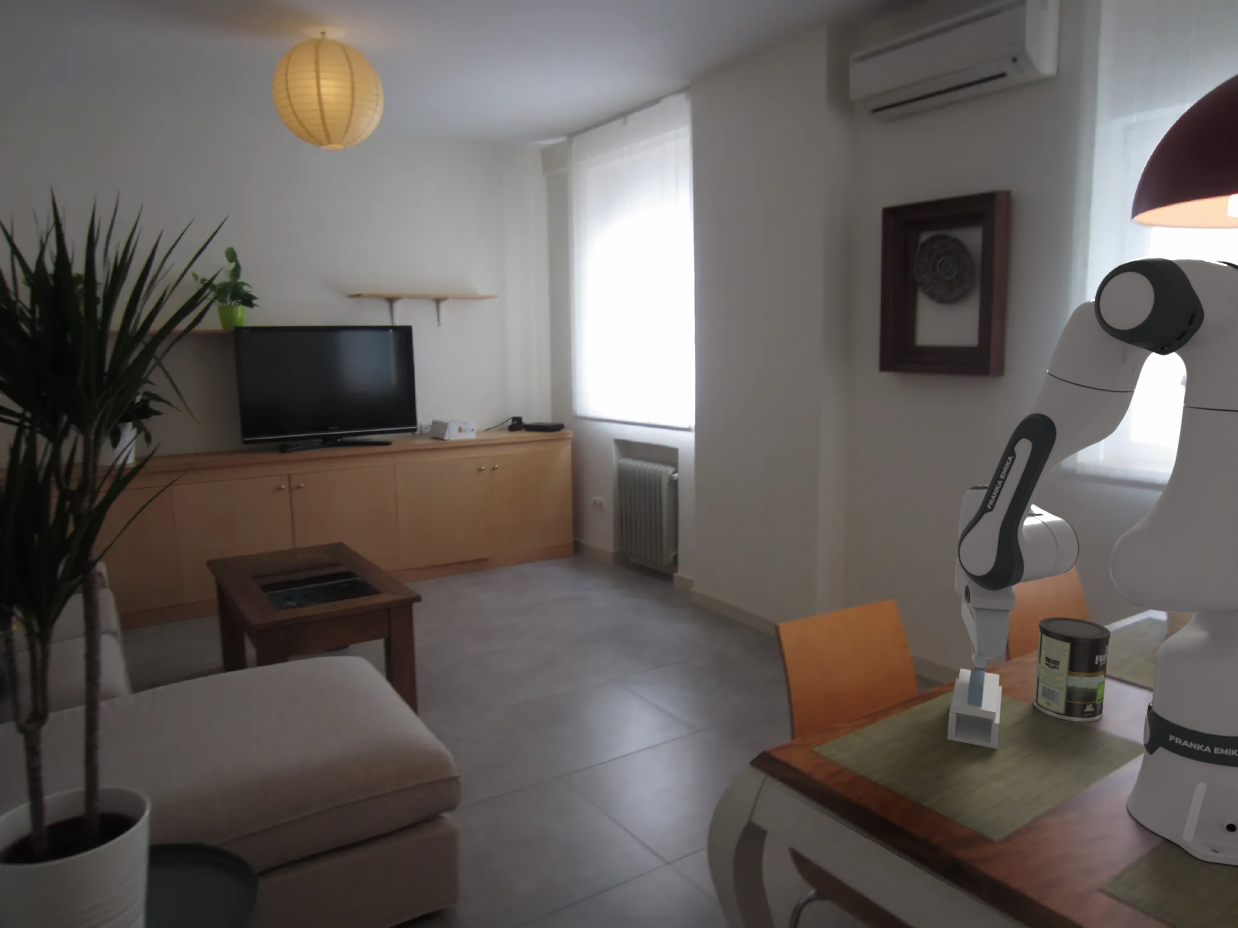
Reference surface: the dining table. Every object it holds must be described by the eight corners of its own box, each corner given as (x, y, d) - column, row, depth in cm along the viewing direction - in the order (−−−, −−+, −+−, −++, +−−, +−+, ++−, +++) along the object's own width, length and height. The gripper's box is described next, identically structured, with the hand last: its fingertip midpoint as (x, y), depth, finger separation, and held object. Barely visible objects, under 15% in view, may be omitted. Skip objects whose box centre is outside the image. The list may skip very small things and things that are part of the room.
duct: (1000, 708, 141) (1001, 685, 140) (997, 748, 127) (999, 723, 127) (954, 700, 144) (956, 678, 143) (947, 739, 130) (948, 714, 130)
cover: (997, 700, 143) (1001, 651, 141) (993, 744, 128) (997, 689, 126) (959, 694, 145) (962, 645, 144) (950, 736, 130) (954, 682, 129)
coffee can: (1107, 705, 142) (1114, 624, 140) (1097, 728, 134) (1105, 643, 131) (1039, 690, 148) (1046, 612, 146) (1026, 711, 140) (1032, 629, 138)
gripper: (955, 563, 147) (950, 639, 149) (972, 600, 127) (966, 687, 129) (994, 565, 145) (988, 642, 147) (1018, 603, 126) (1011, 691, 128)
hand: (978, 664), depth 138 cm, fingers closed
